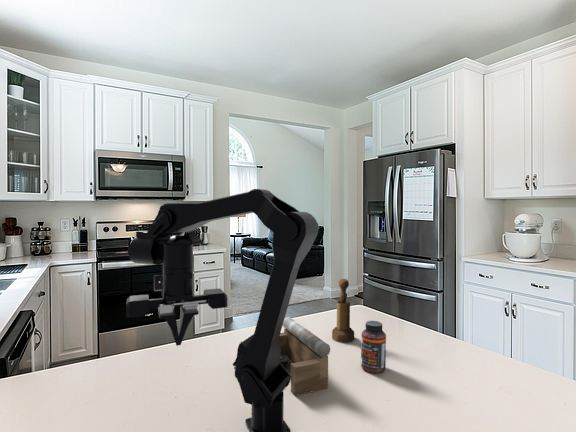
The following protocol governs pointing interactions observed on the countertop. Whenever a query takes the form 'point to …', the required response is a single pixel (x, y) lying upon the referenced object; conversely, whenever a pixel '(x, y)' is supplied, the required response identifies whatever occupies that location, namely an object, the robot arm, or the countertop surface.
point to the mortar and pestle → (343, 316)
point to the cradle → (305, 358)
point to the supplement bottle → (373, 347)
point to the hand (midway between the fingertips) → (178, 344)
